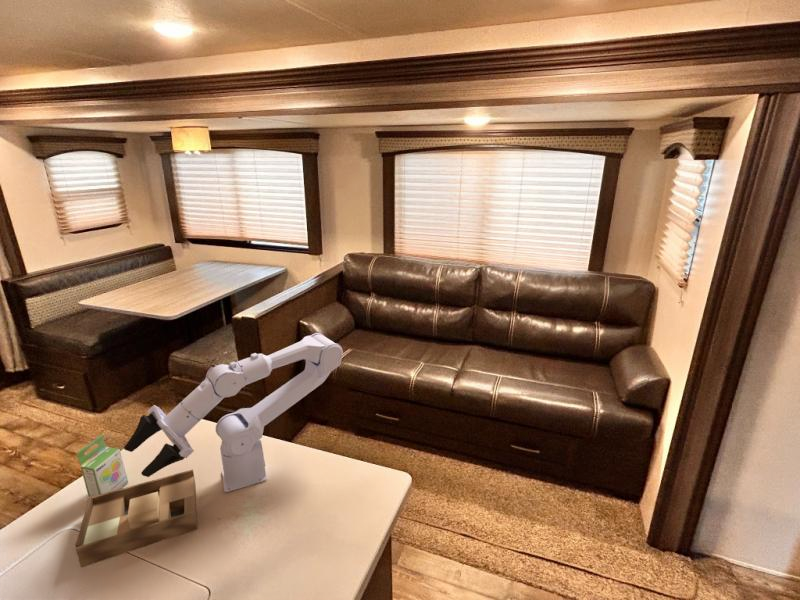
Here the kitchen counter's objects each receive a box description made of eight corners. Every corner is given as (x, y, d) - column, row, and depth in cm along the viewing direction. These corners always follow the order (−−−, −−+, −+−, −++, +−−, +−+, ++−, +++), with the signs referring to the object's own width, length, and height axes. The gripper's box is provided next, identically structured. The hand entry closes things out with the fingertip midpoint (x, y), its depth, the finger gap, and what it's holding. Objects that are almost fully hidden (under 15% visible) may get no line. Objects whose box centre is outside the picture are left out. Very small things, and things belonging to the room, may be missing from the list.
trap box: (195, 484, 99) (192, 467, 98) (197, 529, 87) (193, 510, 86) (94, 513, 91) (89, 495, 89) (81, 567, 79) (74, 547, 77)
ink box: (104, 505, 93) (90, 455, 89) (89, 502, 94) (75, 452, 90) (129, 482, 100) (117, 435, 95) (114, 480, 100) (102, 433, 96)
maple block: (160, 506, 89) (157, 491, 88) (159, 523, 85) (156, 508, 84) (133, 514, 87) (130, 499, 86) (131, 532, 83) (127, 517, 81)
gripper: (162, 384, 89) (106, 434, 85) (198, 427, 83) (140, 483, 78) (181, 395, 95) (129, 442, 91) (216, 436, 89) (162, 489, 84)
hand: (135, 462), depth 85 cm, fingers open, 7 cm apart
